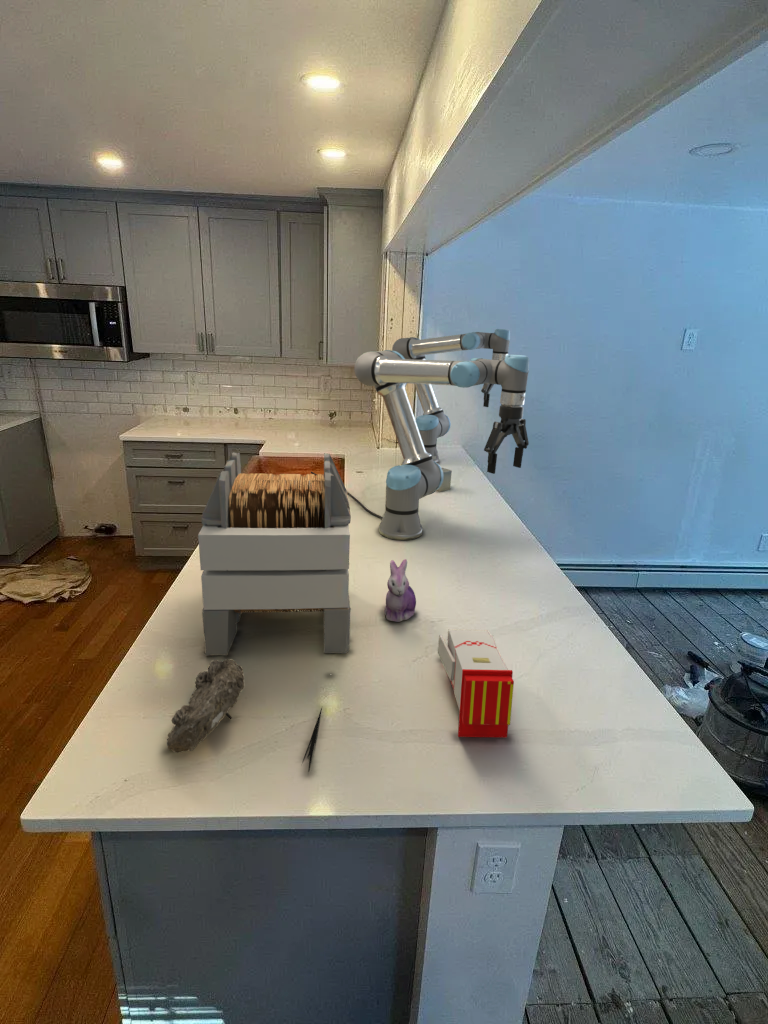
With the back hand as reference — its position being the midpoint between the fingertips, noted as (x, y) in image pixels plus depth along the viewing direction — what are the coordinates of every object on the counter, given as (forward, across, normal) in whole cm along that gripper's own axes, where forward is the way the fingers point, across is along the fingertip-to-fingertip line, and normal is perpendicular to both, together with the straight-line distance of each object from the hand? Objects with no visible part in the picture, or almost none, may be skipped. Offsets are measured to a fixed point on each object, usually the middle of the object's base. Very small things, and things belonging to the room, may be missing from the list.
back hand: (494, 405), depth 285 cm
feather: (+31, +178, +107) cm, 210 cm away
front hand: (+5, +79, +70) cm, 106 cm away
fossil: (+31, +194, +94) cm, 218 cm away
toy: (+31, +148, +119) cm, 193 cm away
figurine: (+31, +139, +87) cm, 167 cm away
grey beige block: (+31, +52, +14) cm, 62 cm away
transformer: (+31, +165, +71) cm, 182 cm away
